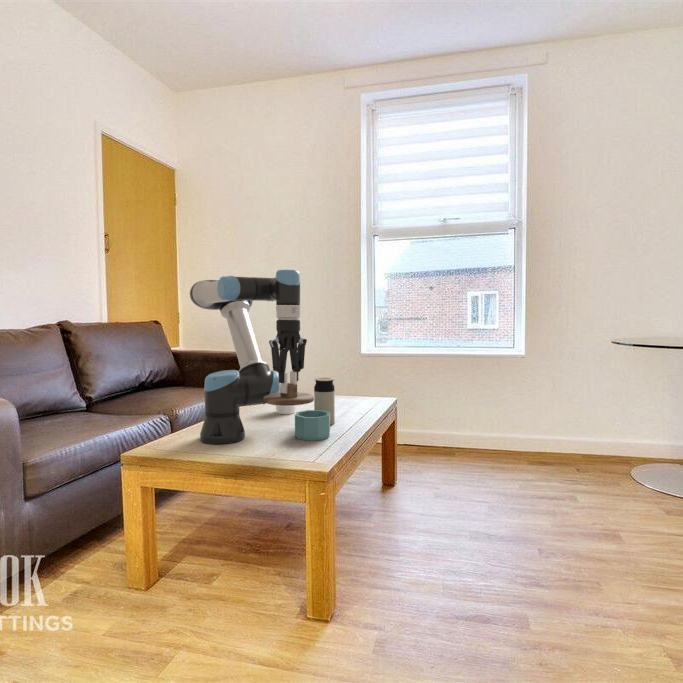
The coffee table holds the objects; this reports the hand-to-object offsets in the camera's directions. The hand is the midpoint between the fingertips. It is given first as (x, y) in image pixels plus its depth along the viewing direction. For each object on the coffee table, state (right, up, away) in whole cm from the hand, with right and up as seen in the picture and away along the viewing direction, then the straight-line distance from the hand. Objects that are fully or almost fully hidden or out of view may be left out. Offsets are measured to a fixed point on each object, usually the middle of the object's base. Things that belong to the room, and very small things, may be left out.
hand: (288, 392), depth 151 cm
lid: (0, -3, 0) cm, 3 cm away
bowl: (+7, -17, +17) cm, 25 cm away
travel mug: (+10, -16, +35) cm, 40 cm away
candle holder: (-7, -15, +55) cm, 58 cm away
